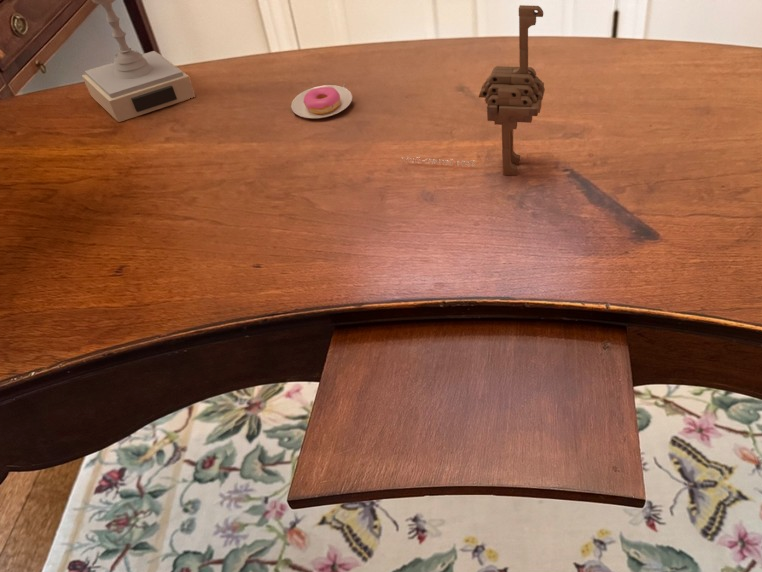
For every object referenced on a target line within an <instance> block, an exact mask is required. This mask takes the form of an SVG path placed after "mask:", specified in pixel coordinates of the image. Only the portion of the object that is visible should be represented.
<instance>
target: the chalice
mask: <svg viewBox="0 0 762 572" xmlns="http://www.w3.org/2000/svg"><path fill="white" fill-rule="evenodd" d="M115 1H116V0H91V2H92V3H94V4H96V5H101V6H102V8H103V10H104V11H105V16H106V19H105V21H106V23H108V24H109V25H110V27H111V29H112V33H111V37H112V38H113V39H115V41H116V42H117V43H118V47H119V50H118V53H116V54H115V55H114V59H113V63H114V62H115V63H114V69H115V71H114V76H115V77H117V78H120V79H132V78H137V77H141V76H144V75H146V74H148V73H149V72H151V71H152V69H153V68H152V66H151V65H150V64H149V63H148V62H147V60H146V59H145V58H144V57H142V54H143V53H140V52H139V51H138V50H134V49H132V48H131V47H129V45H128V44H127V40H126V35H127V32H125V31H124V30H123V29H122V28H121V26H120V19H121V18H120V17H119V16H117V14H116V12H115V11H114V8H113V3H114V2H115Z"/></svg>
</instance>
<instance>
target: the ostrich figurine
mask: <svg viewBox="0 0 762 572" xmlns="http://www.w3.org/2000/svg"><path fill="white" fill-rule="evenodd" d="M544 14H545V13H544V10H543V9H542V7H541V6H539V5H529V4H527V5H525V4H523V5H522V4H520V5H519V6H518V38H519V39H518V41H519V43H518V46H519V47H518V48H519V66H501V65H498V66H497V65H496V66H495V67H493V69H492V71H491V73H490V75H489V76H488V78H486V79H485V81H484V82H483V83H482V86H481V89H480V91H479V93H478V98H485V99H484V102H485V104H486V105H487V106H486V116H487V121H488V122H493V123H494V124H493V125H498V126H501V148H502V149H501V150H502V154H501V155H502V175H503V176H518V173H519V170H518V169H519V168H518V167H519V166H518V165H520V164H521V154H517V153H516V152H515V150H514V130H517V128H518V123H527V124H531V123H532V122H533V117H538V115H539V114H540V113H541V110H542V102H543V100H544V95H545V91H546V90H545V81H542V79H540V78H539V77H538V76H537V72H536V70H535V69H534V68H533V67H531V66H529V28H531V27H532V26H536V24H537V18H544ZM401 159H402V160H403V163H405V164H406V163H411V164H414V163H416V164H421V163H422V162H425V164H426V165H431V164H432V165H435V164H436V165H439V166H440V165H441V163H442V165H443V166H449V165H450V166H454V165H455V164H454V159H453V158H450V159H449V160H448V159H445V160H444V159H441V158H438V157H436V159H432V158H430V157H429V158H428V157H427V158H425V159H422V160H421V157H420V156H416V157H415V158H414V157H413V158H412V157H410V156H409V155H408V156H407V157H401ZM417 159H418V161H417ZM475 162H476V159H475V160H474V159H471V160H469V161H465V160H463V158H462V159H461V160H457V161H456V166H457V167H473V168H474V167H477V165H476V163H475Z"/></svg>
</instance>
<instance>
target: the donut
mask: <svg viewBox="0 0 762 572" xmlns="http://www.w3.org/2000/svg"><path fill="white" fill-rule="evenodd" d="M346 85H347V83H346V82H344V84H343V85H342V86H340V85H335V84H324V85H317V86H314V87H311V88H308V89H306V90H304V91H302V92H300V93H298V94H297V95H296V96H295V97H294V99H293V100H292V102H291V103H290V107H291V108H290V109H291V111H292V112H293V113H294V114H295V115H297V116H299V117H301V118H305V119H323V118H328V117H331V116H335V115H337V114H339V113H341V112H343V111H344V110H346V109H347V108H348V107H349V106H350V105H351V103H352V101H353V94H352V92H351V91H350V90H349V89H347V88H346Z"/></svg>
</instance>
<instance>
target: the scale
mask: <svg viewBox="0 0 762 572" xmlns="http://www.w3.org/2000/svg"><path fill="white" fill-rule="evenodd" d="M141 54H142V57H144V58H145V59H146V60H147V62H148V63H149V64H150V65H151V66H152V68H153V69H152V71H151V72H149V73H148V74H146V75H144V76H141V77H137V78H132V79H120V78H117V77H115V76H114V71H115V69H114V63H115V62H114V61H113V62H110V63H108V64H103V65H101V66H98V67H97V66H96V67H94V68H90V69H86V70H84V74H82V75H81V77H82V80H83V82H84V84H85V86H86V89H87V91H88V93H89V95H90V97H91V98H92V99H93V100H94V101H95V102H97V103H98V104H99V105H100V106H101V107H102V109H104V110H105V111H106V112H107V114H109V115H110V116H111V117H112V118H113V119H114V120H115V121H116V122H117V123H121V122H124V121H127V120H131V119H133V118H136V117H139V116H142V115H145V114H148V113H151V112H155V111H157V110H161V109H164V108H167V107H170V106H172V105H175V104H179V103H182V102H185V101H188V100H191V99H193V97H194V98H196V93H195V90H194V87H193V83H192V81H191V79H190V76H189V75H188V74H187V73H185V71H183V70H181V69H180V68H179V67H178V66H177V65H175V64H173V63H172V62H170V60H168V59H166V58H165V57H164V56H162V55H161V54H160V53H159V52H157V51H155V50H152V51H148V52H145V53H141ZM190 98H191V99H190Z"/></svg>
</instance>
